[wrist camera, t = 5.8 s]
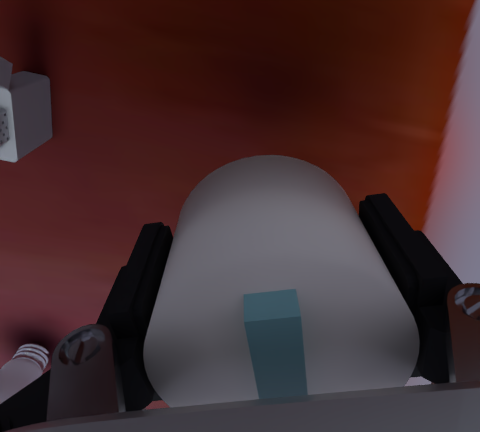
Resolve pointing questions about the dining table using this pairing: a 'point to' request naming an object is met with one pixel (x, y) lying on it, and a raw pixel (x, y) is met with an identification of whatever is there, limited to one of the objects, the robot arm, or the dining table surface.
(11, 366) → the light bulb
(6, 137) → the lighter
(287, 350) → the knob
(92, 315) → the dining table surface
